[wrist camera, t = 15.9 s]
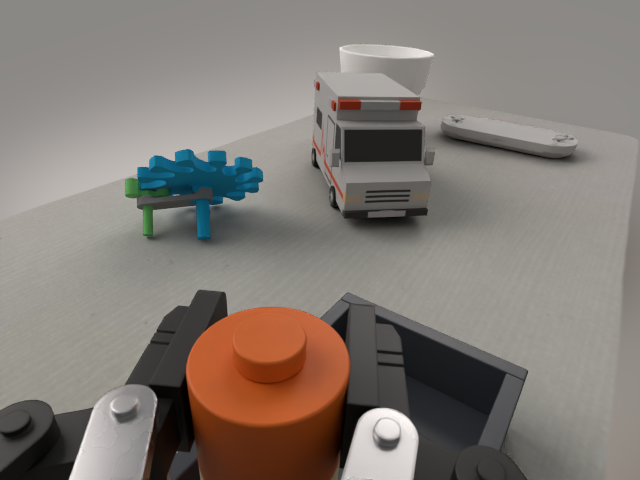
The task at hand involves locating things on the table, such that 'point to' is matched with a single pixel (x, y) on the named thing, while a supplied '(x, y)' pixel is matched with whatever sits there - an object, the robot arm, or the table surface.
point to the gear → (191, 185)
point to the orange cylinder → (268, 396)
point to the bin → (432, 387)
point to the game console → (509, 135)
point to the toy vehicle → (370, 145)
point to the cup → (389, 63)
